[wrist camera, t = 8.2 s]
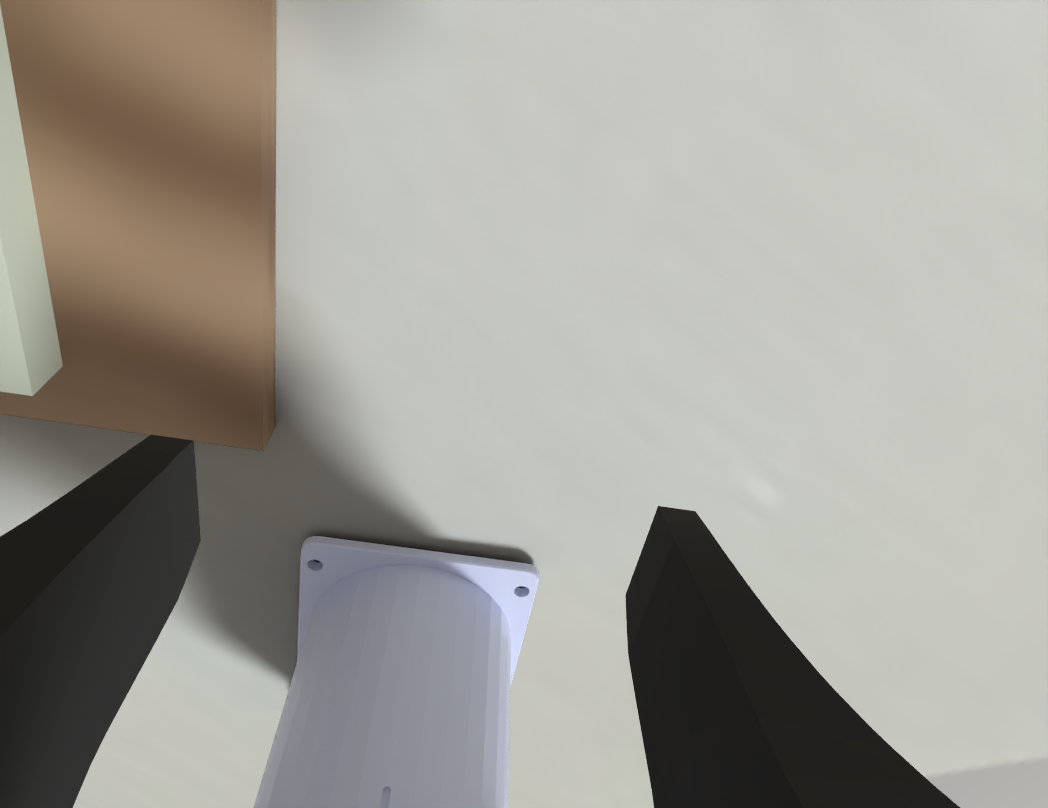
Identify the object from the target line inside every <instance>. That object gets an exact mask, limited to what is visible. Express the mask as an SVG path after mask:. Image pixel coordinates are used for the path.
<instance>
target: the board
mask: <svg viewBox="0 0 1048 808" xmlns="http://www.w3.org/2000/svg"><path fill="white" fill-rule="evenodd" d="M0 6H1V11H2V17H3V23H4V29H5V35H6V40H7V46H8V52H9V58H10V63H11V69H12V75H13V81H14V87H15V92H16V98H17V104H18V110H19V115H20V121H21V127H22V133H23V139H24V144H25V150H26V156H27V162H28V167H29V173H30V179H31V185H32V191H33V196H34V202H35V208H36V214H37V219H38V225H39V231H40V237H41V243H42V248H43V254H44V260H45V266H46V271H47V277H48V283H49V289H50V295H51V300H52V306H53V312H54V318H55V323H56V329H57V335H58V341H59V347H60V352H61V358H62V364H63V366H62V367H61V368H60V369H59V370H58V371H57V372H56V373H55V374H54V375H53V376H52V377H51V378H50V379H49V380H48V381H47V382H46V383H45V384H44V385H43V386H42V387H41V388H40V389H39V390H38V391H37V392H36V393H35V394H34V395H33V396H28V395H22V394H15V393H8V392H1V391H0V414H5V415H12V416H19V417H26V418H33V419H40V420H47V421H54V422H61V423H68V424H75V425H82V426H90V427H97V428H104V429H111V430H118V431H125V432H132V433H139V434H146V435H158V436H166V437H173V438H180V439H187V440H194V441H196V442H203V443H210V444H217V445H224V446H231V447H238V448H245V449H252V450H260V451H264V449H265V447H266V444H267V442H268V440H269V438H270V436H271V434H272V432H273V430H274V428H275V190H276V0H0Z"/></svg>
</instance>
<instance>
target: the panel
mask: <svg viewBox="0 0 1048 808" xmlns="http://www.w3.org/2000/svg"><path fill="white" fill-rule="evenodd" d="M62 366H63V364H62V358H61V352H60V347H59V341H58V335H57V329H56V323H55V318H54V312H53V306H52V300H51V295H50V289H49V283H48V277H47V271H46V266H45V260H44V254H43V248H42V243H41V237H40V231H39V225H38V219H37V214H36V208H35V202H34V196H33V191H32V185H31V179H30V173H29V167H28V162H27V156H26V150H25V144H24V139H23V133H22V127H21V121H20V115H19V110H18V104H17V98H16V92H15V87H14V81H13V75H12V69H11V63H10V58H9V52H8V46H7V40H6V35H5V29H4V23H3V17H2V11H1V6H0V391H1V392H8V393H15V394H22V395H28V396H33V395H34V394H35V393H36V392H37V391H38V390H39V389H40V388H41V387H42V386H43V385H44V384H45V383H46V382H47V381H48V380H49V379H50V378H51V377H52V376H53V375H54V374H55V373H56V372H57V371H58V370H59V369H60V368H61V367H62Z"/></svg>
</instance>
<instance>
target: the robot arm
mask: <svg viewBox="0 0 1048 808" xmlns="http://www.w3.org/2000/svg"><path fill="white" fill-rule="evenodd" d="M199 543H200V526H199V511H198V497H197V483H196V469H195V454H194V440H187V439H180V438H173V437H166V436H158V435H150V436H149V437H147V438H146V439H145V440H143V441H142V442H140V443H139V444H137V445H136V446H134V447H133V448H131V449H130V450H128V451H127V452H126V453H124V454H123V455H121V456H120V457H118V458H117V459H115V460H114V461H113V462H111V463H110V464H108V465H107V466H106V467H104V468H103V469H101V470H100V471H98V472H97V473H96V474H94V475H93V476H91V477H90V478H88V479H87V480H86V481H84V482H83V483H81V484H80V485H78V486H77V487H76V488H74V489H73V490H71V491H70V492H68V493H67V494H65V495H64V496H62V497H61V498H59V499H58V500H56V501H55V502H53V503H52V504H50V505H49V506H47V507H46V508H44V509H43V510H42V511H40V512H39V513H37V514H36V515H34V516H33V517H31V518H30V519H28V520H27V521H25V522H23V523H22V524H20V525H19V526H17V527H15V528H14V529H12V530H10V531H9V532H7V533H6V534H4V535H2V536H1V537H0V808H73V805H74V803H75V800H76V798H77V796H78V793H79V791H80V789H81V786H82V784H83V781H84V779H85V777H86V774H87V772H88V770H89V767H90V765H91V763H92V761H93V759H94V757H95V755H96V753H97V750H98V748H99V746H100V744H101V742H102V740H103V738H104V736H105V734H106V732H107V730H108V729H109V727H110V725H111V723H112V721H113V719H114V717H115V716H116V714H117V712H118V710H119V708H120V706H121V705H122V703H123V701H124V699H125V697H126V695H127V693H128V692H129V690H130V688H131V686H132V684H133V682H134V681H135V679H136V677H137V675H138V673H139V671H140V670H141V668H142V666H143V664H144V662H145V660H146V658H147V657H148V655H149V653H150V651H151V649H152V647H153V646H154V644H155V642H156V640H157V638H158V636H159V634H160V632H161V631H162V629H163V627H164V625H165V623H166V621H167V619H168V617H169V616H170V614H171V612H172V610H173V608H174V606H175V604H176V602H177V600H178V598H179V595H180V593H181V590H182V588H183V585H184V583H185V580H186V578H187V575H188V573H189V570H190V567H191V565H192V562H193V559H194V556H195V554H196V551H197V548H198V546H199ZM313 560H319V561H320V562H315V561H313ZM538 583H539V571H538V570H537V568H536V567H534V566H533V565H531V564H527V563H520V562H512V561H504V560H497V559H489V558H482V557H474V556H466V555H459V554H451V553H443V552H436V551H428V550H421V549H413V548H405V547H398V546H390V545H383V544H375V543H367V542H360V541H352V540H344V539H337V538H329V537H322V536H312V537H309V538H307V539H306V540H305V541H304V543H303V546H302V549H301V554H300V589H299V623H298V657H297V664H296V668H295V671H294V674H293V678H292V681H291V684H290V688H289V691H288V694H287V698H286V701H285V704H284V708H283V711H282V714H281V718H280V721H279V724H278V728H277V731H276V734H275V738H274V741H273V744H272V748H271V751H270V754H269V758H268V761H267V764H266V768H265V771H264V774H263V778H262V781H261V784H260V788H259V791H258V794H257V798H256V801H255V804H254V808H508V785H509V728H510V687H511V683H512V679H513V675H514V672H515V668H516V664H517V661H518V657H519V653H520V650H521V646H522V642H523V639H524V635H525V631H526V628H527V624H528V620H529V617H530V613H531V609H532V605H533V602H534V598H535V594H536V591H537V587H538ZM519 586H524V587H526V588H518V587H519ZM626 617H627V638H628V655H629V661H630V667H631V673H632V679H633V685H634V691H635V697H636V703H637V708H638V714H639V720H640V725H641V731H642V737H643V742H644V748H645V754H646V759H647V765H648V771H649V776H650V782H651V788H652V795H653V802H654V808H960V807H959V806H957V805H956V804H955V803H954V802H952V801H951V800H950V799H949V798H948V797H947V796H946V795H944V794H943V793H942V792H941V791H939V790H938V789H937V788H936V787H935V786H934V785H933V784H931V783H930V782H929V781H928V780H927V779H926V778H925V777H924V776H923V775H922V774H920V773H919V772H918V771H917V770H916V769H915V768H914V767H913V766H912V765H910V764H909V763H908V762H907V761H906V760H905V759H904V758H903V757H902V756H901V755H899V754H898V753H897V752H896V751H895V750H894V749H893V748H892V747H891V746H890V745H889V744H888V743H887V742H885V741H884V740H883V739H882V738H881V737H880V736H879V735H878V734H877V733H876V732H875V731H874V730H873V729H872V728H871V727H870V726H869V725H868V724H867V723H866V722H865V721H864V720H863V719H862V718H861V717H860V716H859V715H858V714H857V713H856V712H855V711H854V710H853V709H852V708H851V707H850V705H849V704H848V703H847V702H846V701H845V700H844V699H843V698H842V697H841V696H840V695H839V694H838V693H837V692H836V691H835V690H834V689H833V688H832V687H831V686H830V685H829V683H828V682H827V681H826V680H825V679H824V678H823V677H822V676H821V675H820V674H819V672H818V671H817V670H816V669H815V668H814V667H813V665H812V664H811V663H810V662H809V661H808V660H807V658H806V657H805V656H804V655H803V654H802V652H801V651H800V650H799V649H798V648H797V647H796V645H795V644H794V643H793V642H792V641H791V640H790V638H789V637H788V636H787V635H786V633H785V632H784V631H783V630H782V628H781V627H780V626H779V625H778V623H777V622H776V621H775V620H774V618H773V617H772V616H771V615H770V613H769V612H768V611H767V609H766V608H765V607H764V606H763V604H762V603H761V602H760V600H759V599H758V598H757V596H756V595H755V594H754V592H753V591H752V590H751V588H750V587H749V586H748V584H747V583H746V581H745V580H744V579H743V577H742V576H741V575H740V573H739V572H738V571H737V569H736V568H735V566H734V565H733V564H732V562H731V561H730V559H729V558H728V557H727V555H726V554H725V552H724V551H723V550H722V548H721V547H720V545H719V544H718V542H717V541H716V540H715V538H714V537H713V535H712V534H711V533H710V531H709V530H708V528H707V527H706V525H705V524H704V523H703V521H702V520H701V519H700V517H699V516H698V514H697V513H696V512H695V511H689V510H682V509H675V508H668V507H661V506H658V508H657V511H656V514H655V516H654V519H653V522H652V525H651V527H650V530H649V533H648V535H647V538H646V541H645V544H644V546H643V549H642V552H641V555H640V557H639V560H638V563H637V566H636V568H635V571H634V574H633V576H632V579H631V582H630V585H629V587H628V590H627V593H626Z"/></svg>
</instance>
